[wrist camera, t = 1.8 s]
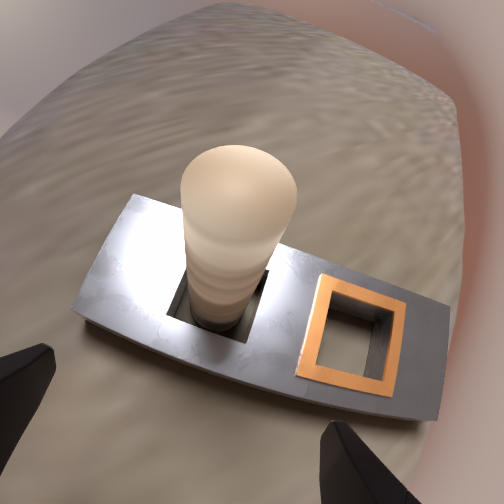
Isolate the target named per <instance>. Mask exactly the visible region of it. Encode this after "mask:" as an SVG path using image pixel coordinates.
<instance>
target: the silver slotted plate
mask: <svg viewBox="0 0 504 504" xmlns="http://www.w3.org/2000/svg"><path fill="white" fill-rule="evenodd" d="M187 283H188V280H187V269H186V258H185V247H184V234H183V220H182V209H179V208H176V207H173V206H170V205H167V204H164V203H161V202H158V201H155V200H152V199H149V198H146V197H143V196H140V195H137V194H133V195H132V197H131V199H130V200H129V202H128V203H127V205H126V207H125V208H124V210H123V212H122V213H121V215H120V217H119V218H118V220H117V222H116V223H115V225H114V227H113V228H112V230H111V232H110V234H109V235H108V237H107V239H106V241H105V243H104V244H103V246H102V248H101V250H100V252H99V254H98V255H97V257H96V259H95V261H94V263H93V265H92V267H91V269H90V271H89V273H88V275H87V277H86V279H85V281H84V283H83V285H82V287H81V289H80V291H79V293H78V295H77V297H76V299H75V301H74V303H73V306H72V308H71V310H73V311H74V312H75V313H77V314H78V315H79V316H81V317H82V318H83V319H85V320H86V321H88V322H90V323H92V324H94V325H96V326H98V327H100V328H102V329H104V330H106V331H108V332H111V333H113V334H115V335H117V336H119V337H121V338H123V339H126V340H128V341H130V342H132V343H134V344H137V345H139V346H141V347H144V348H146V349H148V350H151V351H153V352H155V353H158V354H160V355H163V356H165V357H168V358H170V359H173V360H175V361H178V362H180V363H183V364H186V365H188V366H191V367H194V368H196V369H199V370H202V371H205V372H207V373H210V374H213V375H216V376H219V377H222V378H225V379H228V380H231V381H234V382H237V383H240V384H243V385H247V386H250V387H253V388H257V389H260V390H263V391H267V392H270V393H274V394H278V395H281V396H285V397H289V398H293V399H297V400H301V401H305V402H309V403H313V404H317V405H322V406H326V407H331V408H336V409H340V410H345V411H351V412H356V413H361V414H367V415H373V416H379V417H386V418H392V419H400V420H407V421H437V419H438V414H439V409H440V403H441V397H442V390H443V384H444V377H445V369H446V360H447V350H448V338H449V321H450V306H447V305H445V304H442V303H439V302H437V301H434V300H432V299H429V298H426V297H424V296H421V295H418V294H416V293H413V292H411V291H408V290H405V289H403V288H400V287H397V286H395V285H392V284H389V283H387V282H384V281H381V280H379V279H376V278H373V277H370V276H368V275H365V274H362V273H360V272H357V271H354V270H351V269H349V268H346V267H343V266H341V265H338V264H335V263H332V262H330V261H327V260H324V259H321V258H319V257H316V256H313V255H310V254H307V253H305V252H302V251H299V250H296V249H294V248H291V247H288V246H285V245H282V244H280V243H278V245H277V247H276V249H275V251H274V253H273V255H272V257H271V259H270V261H269V263H268V265H267V267H266V269H265V271H264V273H263V275H262V277H261V279H260V281H259V283H258V284H259V285H262V286H261V289H260V292H259V295H258V298H257V302H256V305H255V308H254V311H253V314H252V317H251V320H250V323H249V326H248V329H247V332H246V335H245V338H244V341H243V343H241V342H238V341H235V340H232V339H229V338H226V337H223V336H220V335H217V334H215V333H212V332H209V331H206V330H204V329H201V328H198V327H196V326H193V325H190V324H188V323H185V322H182V321H180V320H177V319H175V318H173V317H174V314H175V312H176V309H177V307H178V305H179V302H180V300H181V297H182V295H183V293H184V290H185V288H186V285H187ZM328 308H330V309H333V310H336V311H339V312H342V313H345V314H348V315H351V316H355V317H358V318H361V319H364V320H367V321H370V322H373V329H372V335H371V341H370V346H369V352H368V357H367V362H366V367H365V372H364V377H362V376H358V375H354V374H350V373H346V372H342V371H338V370H334V369H330V368H326V367H323V366H319V365H315V363H316V359H317V355H318V351H319V347H320V343H321V339H322V334H323V330H324V326H325V321H326V317H327V312H328Z"/></svg>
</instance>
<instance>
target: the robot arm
mask: <svg viewBox="0 0 504 504" xmlns="http://www.w3.org/2000/svg"><path fill="white" fill-rule="evenodd" d="M55 371H56V362H55V355H54V350H53V348H52V347H51V346H48V345H46V344H44V343H40V344H37V345H35V346H32V347H29V348H26V349H23V350H20V351H18V352H15V353H12V354H9V355H6V356H3V357H0V475H1V473H2V471H3V469H4V468H5V466H6V464H7V462H8V460H9V458H10V456H11V454H12V452H13V451H14V449H15V447H16V445H17V443H18V441H19V440H20V438H21V436H22V434H23V433H24V431H25V429H26V427H27V426H28V424H29V422H30V421H31V419H32V417H33V416H34V414H35V412H36V411H37V409H38V407H39V405H40V403H41V401H42V399H43V397H44V395H45V392H46V390H47V388H48V386H49V384H50V382H51V380H52V378H53V376H54V374H55ZM319 481H320V493H321V504H421V503H420V502H419V501H418V500H417V499H416V498H415V497H414V496H413V495H412V494H411V493H410V492H409V491H407V488H406V487H405V486H404V485H403V484H402V483H401V482H400V481H399V480H398V479H397V478H396V477H395V476H394V475H393V474H392V473H391V471H390V470H389V469H388V468H387V467H386V466H385V465H384V464H383V463H382V462H381V461H380V460H379V458H378V457H377V456H376V455H375V454H374V453H373V452H372V451H371V450H370V449H369V447H368V446H367V445H366V444H365V443H364V442H363V441H362V440H361V439H360V437H359V436H358V435H357V434H356V433H355V432H354V431H353V430H352V429H351V427H350V426H349V425H348V424H347V423H346V422H345V421H341V420H332V421H331V422H330V423H329V425H328V427H327V428H326V430H325V431H324V433H323V434H322V436H321V440H320V473H319Z"/></svg>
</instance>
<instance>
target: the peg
mask: <svg viewBox="0 0 504 504" xmlns="http://www.w3.org/2000/svg"><path fill="white" fill-rule="evenodd" d="M181 204H182V220H183V234H184V247H185V258H186V269H187V280H188V290H189V299H190V308H191V313H192V315H193V317H194V319H195V320H196V322H197V323H198V324H199V325H201V326H202V327H203V328H205V329H208V330H211V331H225V330H228V329H230V328H232V327H233V326H235V325H236V324H237V323H238V322H239V320H240V319H241V317H242V315H243V313H244V311H245V309H246V307H247V305H248V303H249V301H250V299H251V297H252V295H253V293H254V291H255V289H256V287H257V285H258V283H259V281H260V279H261V277H262V275H263V273H264V271H265V269H266V267H267V265H268V263H269V261H270V259H271V257H272V255H273V253H274V251H275V249H276V247H277V245H278V243H279V241H280V239H281V237H282V235H283V233H284V231H285V229H286V227H287V225H288V223H289V221H290V218H291V216H292V214H293V212H294V210H295V207H296V204H297V188H296V184H295V181H294V179H293V177H292V175H291V174H290V172H289V171H288V169H287V168H286V167H285V166H284V165H283V164H282V163H281V162H280V161H279V160H277V159H276V158H274V157H273V156H271V155H269V154H268V153H266V152H263V151H261V150H258V149H255V148H252V147H247V146H239V145H229V146H221V147H217V148H213V149H210V150H208V151H206V152H204V153H202V154H200V155H199V156H197V157H196V158H195V159H194V160H193V161H192V162H191V163H190V164H189V165H188V167H187V168H186V170H185V172H184V174H183V176H182V180H181Z"/></svg>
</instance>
